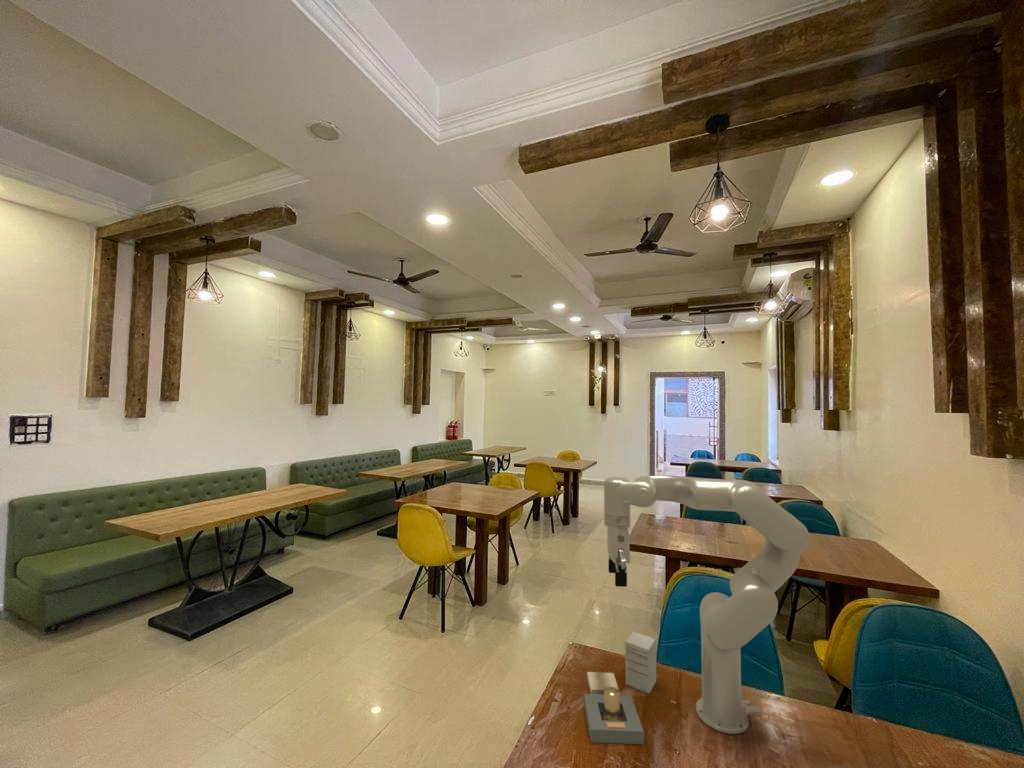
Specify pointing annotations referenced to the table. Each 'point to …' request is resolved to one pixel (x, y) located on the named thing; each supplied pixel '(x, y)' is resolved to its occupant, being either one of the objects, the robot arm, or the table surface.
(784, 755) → the table surface
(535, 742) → the table surface
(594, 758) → the table surface
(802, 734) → the table surface
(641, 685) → the supplement box
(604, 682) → the beige square plate
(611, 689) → the brass peg
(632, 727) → the hole plate
